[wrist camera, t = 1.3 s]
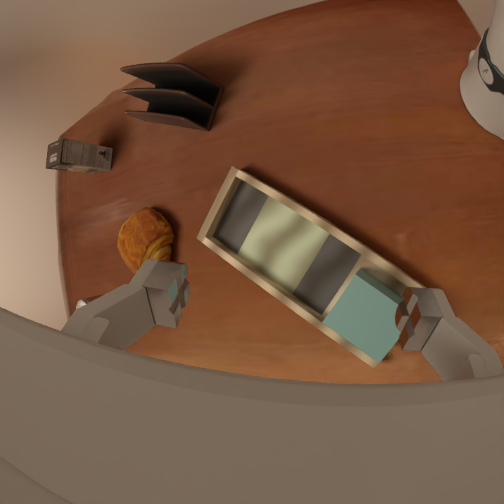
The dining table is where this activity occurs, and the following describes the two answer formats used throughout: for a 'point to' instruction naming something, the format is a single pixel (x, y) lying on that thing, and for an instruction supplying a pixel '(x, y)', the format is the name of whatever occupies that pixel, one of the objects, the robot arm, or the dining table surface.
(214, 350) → the dining table surface
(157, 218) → the croissant
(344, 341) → the trap lane
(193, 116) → the letter holder
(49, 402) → the robot arm
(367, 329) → the teal block
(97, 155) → the coffee box
